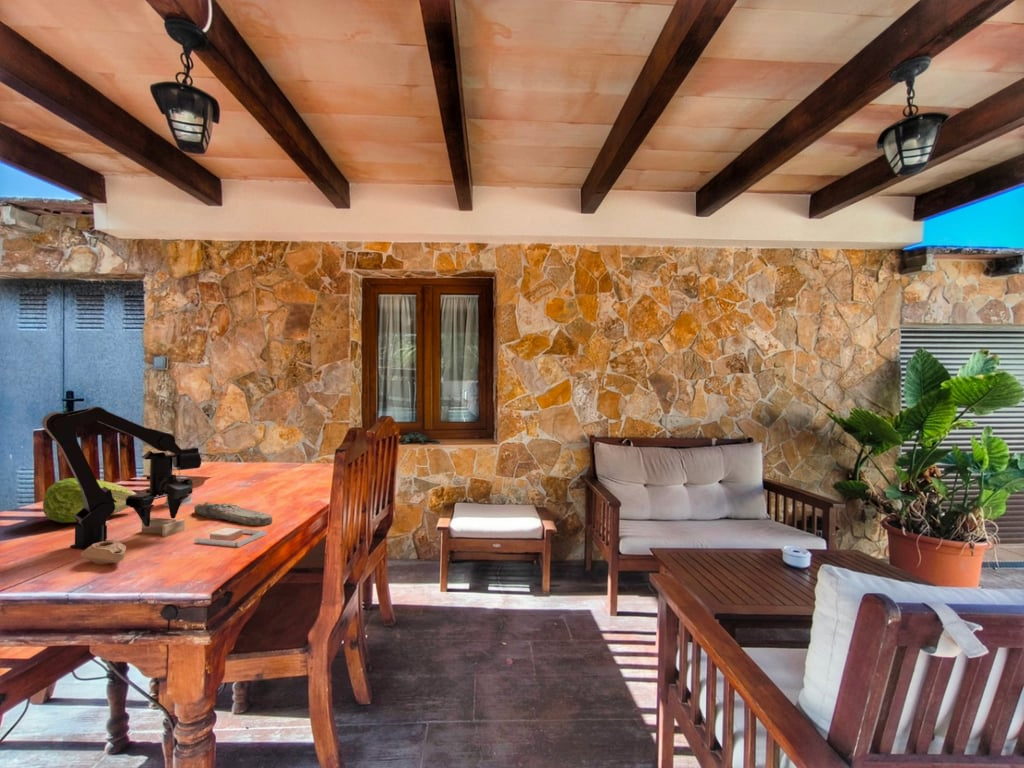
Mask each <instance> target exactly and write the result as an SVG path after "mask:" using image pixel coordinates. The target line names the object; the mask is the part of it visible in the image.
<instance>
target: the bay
mask: <svg viewBox="0 0 1024 768" xmlns="http://www.w3.org/2000/svg"><path fill="white" fill-rule="evenodd" d="M224 528H231V526H230V527H229V526H228V527H227V526H225V527H224ZM234 528H235V529H242V535H243V534H245V535H250V536H248V537H245V538H243V539H241V540H238V541H236V540H232V541H226V540H215V539H210V538H204V537H203V538H202V537H196V538H194V543H195V544H201V545H213V546H222V547H232V548H240V547H242V546H244V545H246V544H249V543H251V542H253V541H255V540H258V539H260V538H262V537H264V536H267V530H265V529H264V530H263V529H251V528H249V529H248V528H239V527H234Z"/></svg>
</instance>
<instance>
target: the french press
mask: <svg viewBox="0 0 1024 768" xmlns="http://www.w3.org/2000/svg"><path fill="white" fill-rule="evenodd" d="M183 439H184V438H182V437H177V438H176V442H178V447H179V448H180V449H181V441H183ZM172 471H178V473H179V474H178V475H176V472H174V474H173V475H176V479H177V481H182V482H183V481H184V480H186V479H190V478H191V476H190V475H182V473H181V472H180V471H181V470H178V469H177V468H174V466H173V463H172ZM188 495H189V496H188V497H186V498H185V499H184V500H183V501H182V503H181V505H180V507H181V506H187V505H188V506H189V505H190V504H193V503H194V500H193V499H192V496H191V495H192V493H191V494H188ZM165 498H166V500H165V502H164V503H163V504H162V506H165V507H169V505H168V499H167V497H165Z"/></svg>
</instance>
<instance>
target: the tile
mask: <svg viewBox="0 0 1024 768" xmlns="http://www.w3.org/2000/svg"><path fill="white" fill-rule="evenodd" d="M235 528H236V527H230V528H225V527H223V528H221V529H218V530H216V531H212V532H210V533H209V539H215V540H226V541H235V540H236V539H238V538H241V537H243V534H242V529H243V528H241V529H235Z"/></svg>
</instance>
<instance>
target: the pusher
mask: <svg viewBox="0 0 1024 768" xmlns="http://www.w3.org/2000/svg"><path fill="white" fill-rule="evenodd" d="M185 522H186V520H185V519H184V518H183V519H179V520H177V519H175V518H174V519H172V518H162V517H161V518H160V517H151V516H150V524H149V527H145V525H144V524H143V522H142V521H141V533H150V534H151V533H152V534H159V535H162V538H166V537H170V536H173V535H175V534H177V533H181V532H184V531H185V530H186V529H185V528H186V527H185V525H186V524H185ZM172 534H173V535H172ZM169 535H170V536H169Z"/></svg>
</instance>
